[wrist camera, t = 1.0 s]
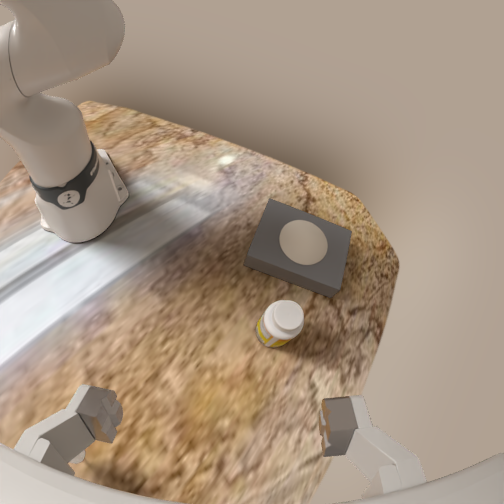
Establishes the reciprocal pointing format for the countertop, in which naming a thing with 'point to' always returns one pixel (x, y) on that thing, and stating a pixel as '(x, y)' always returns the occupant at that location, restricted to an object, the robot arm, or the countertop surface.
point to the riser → (299, 249)
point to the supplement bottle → (280, 323)
